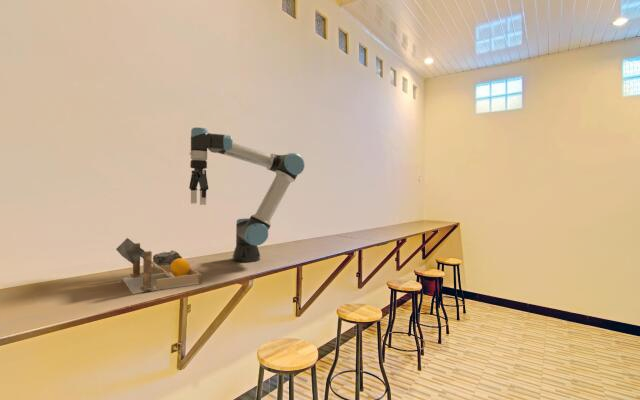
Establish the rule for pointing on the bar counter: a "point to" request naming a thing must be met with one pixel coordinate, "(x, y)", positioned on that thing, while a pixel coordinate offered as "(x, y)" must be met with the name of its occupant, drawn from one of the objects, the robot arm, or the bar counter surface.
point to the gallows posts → (144, 270)
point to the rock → (165, 258)
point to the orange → (180, 267)
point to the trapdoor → (134, 253)
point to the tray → (163, 280)
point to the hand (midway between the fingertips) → (198, 204)
